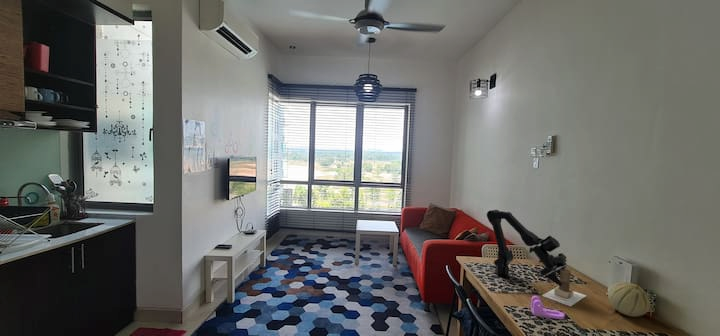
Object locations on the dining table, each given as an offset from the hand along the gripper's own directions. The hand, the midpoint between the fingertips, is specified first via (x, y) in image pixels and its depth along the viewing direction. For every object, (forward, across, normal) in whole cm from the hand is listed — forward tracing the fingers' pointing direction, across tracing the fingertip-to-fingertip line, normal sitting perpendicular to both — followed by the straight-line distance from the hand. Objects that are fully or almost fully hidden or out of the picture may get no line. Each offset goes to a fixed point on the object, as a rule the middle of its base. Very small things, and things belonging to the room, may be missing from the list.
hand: (565, 283), depth 159 cm
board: (+5, 0, +5) cm, 7 cm away
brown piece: (+4, 0, +5) cm, 6 cm away
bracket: (+8, -25, +3) cm, 27 cm away
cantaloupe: (+22, +7, -12) cm, 26 cm away
